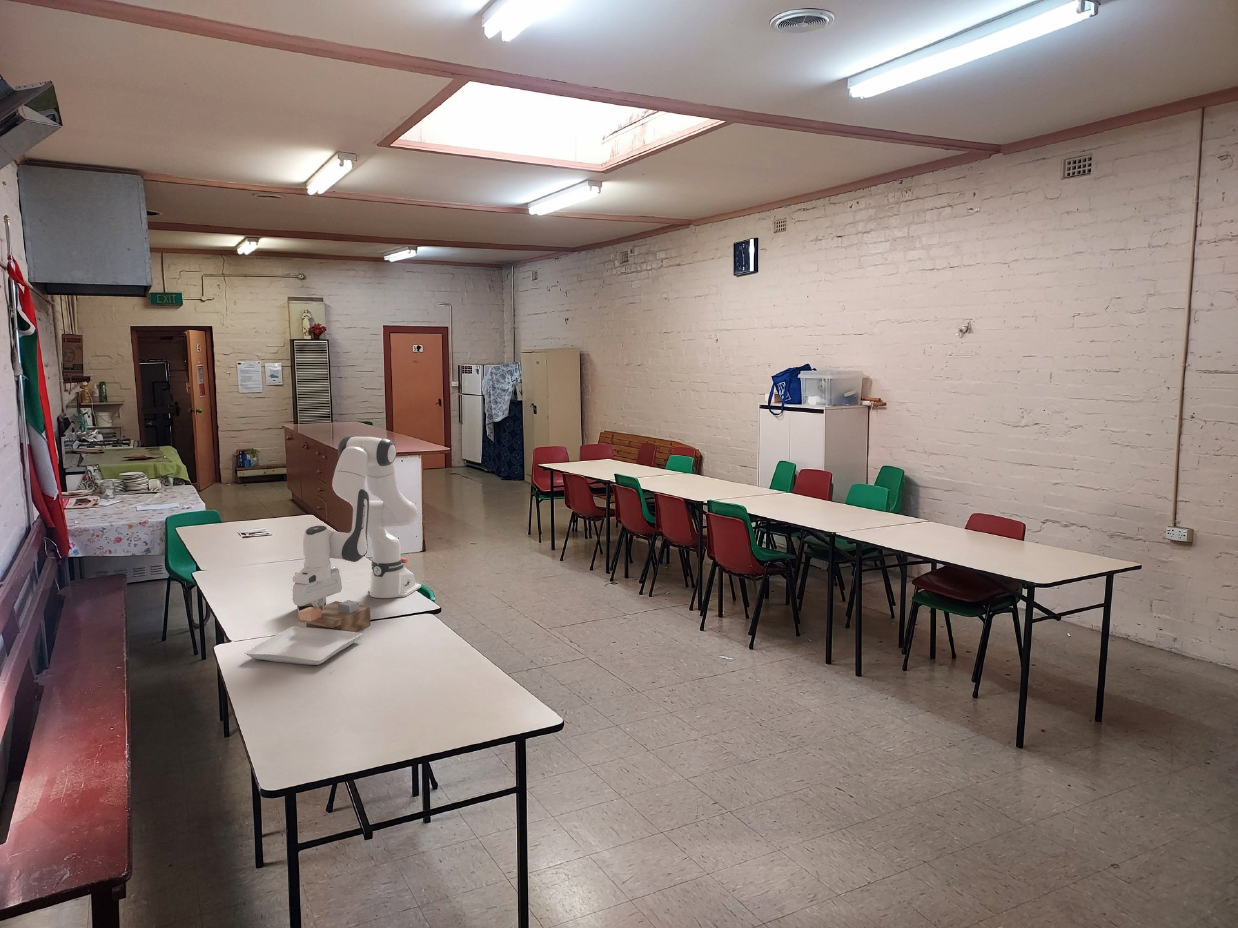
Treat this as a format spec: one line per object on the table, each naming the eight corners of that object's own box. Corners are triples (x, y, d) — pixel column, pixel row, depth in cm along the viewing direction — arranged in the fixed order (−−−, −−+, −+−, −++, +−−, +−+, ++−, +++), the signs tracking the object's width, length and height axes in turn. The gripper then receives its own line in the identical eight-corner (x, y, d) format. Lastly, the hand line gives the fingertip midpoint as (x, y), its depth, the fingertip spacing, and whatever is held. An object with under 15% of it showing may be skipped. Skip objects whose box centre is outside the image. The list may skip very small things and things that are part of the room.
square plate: (320, 671, 256) (320, 659, 255) (243, 663, 261) (242, 652, 260) (364, 641, 282) (363, 630, 281) (293, 635, 287) (292, 624, 287)
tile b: (348, 608, 295) (348, 600, 294) (359, 609, 293) (359, 601, 292) (338, 611, 290) (338, 603, 290) (349, 613, 288) (349, 605, 288)
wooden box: (336, 619, 304) (335, 600, 303) (370, 625, 297) (370, 606, 296) (297, 634, 286) (297, 615, 285) (333, 641, 280) (332, 622, 279)
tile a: (310, 615, 286) (310, 606, 286) (321, 616, 284) (321, 608, 284) (299, 619, 282) (299, 610, 281) (310, 621, 280) (310, 612, 279)
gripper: (331, 564, 295) (333, 601, 297) (288, 578, 277) (290, 617, 279) (345, 566, 293) (346, 604, 295) (302, 580, 274) (304, 620, 276)
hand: (318, 610), depth 287 cm, fingers closed
